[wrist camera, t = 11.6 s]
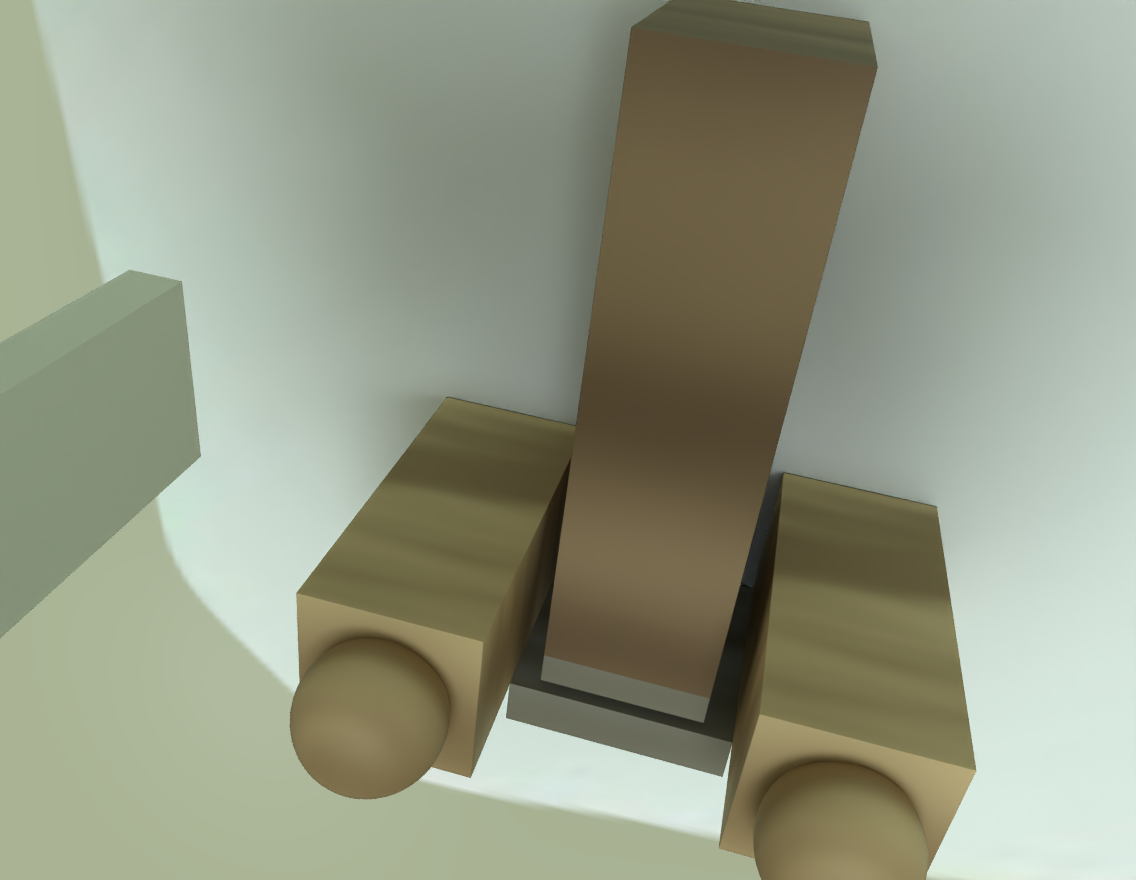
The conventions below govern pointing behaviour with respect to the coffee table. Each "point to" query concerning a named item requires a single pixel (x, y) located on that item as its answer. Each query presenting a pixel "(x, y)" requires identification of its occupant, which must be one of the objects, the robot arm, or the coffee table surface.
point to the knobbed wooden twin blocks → (734, 715)
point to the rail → (697, 333)
